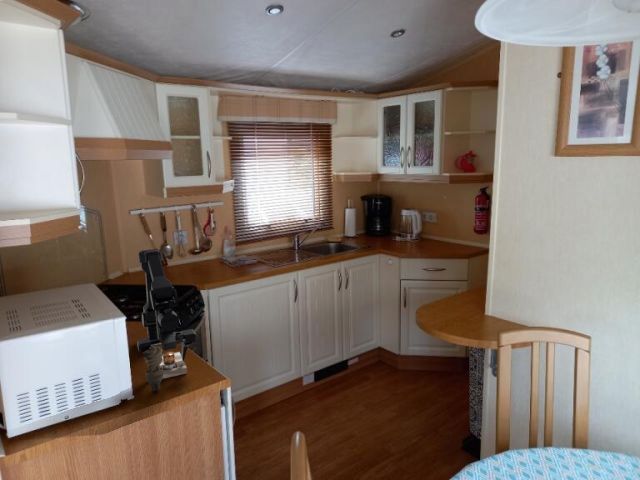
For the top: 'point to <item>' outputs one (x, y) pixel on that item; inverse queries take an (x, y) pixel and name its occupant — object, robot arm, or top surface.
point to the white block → (178, 364)
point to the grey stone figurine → (154, 367)
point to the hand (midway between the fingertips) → (169, 363)
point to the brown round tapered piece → (169, 360)
